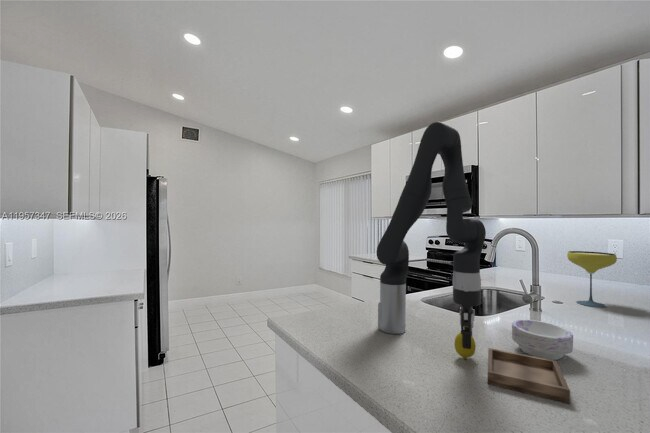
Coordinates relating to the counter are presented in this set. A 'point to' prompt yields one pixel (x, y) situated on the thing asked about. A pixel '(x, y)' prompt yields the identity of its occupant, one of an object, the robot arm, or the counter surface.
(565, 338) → the paper bowls
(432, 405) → the counter surface
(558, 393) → the walnut tray
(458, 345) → the lemon
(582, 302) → the cocktail glass
